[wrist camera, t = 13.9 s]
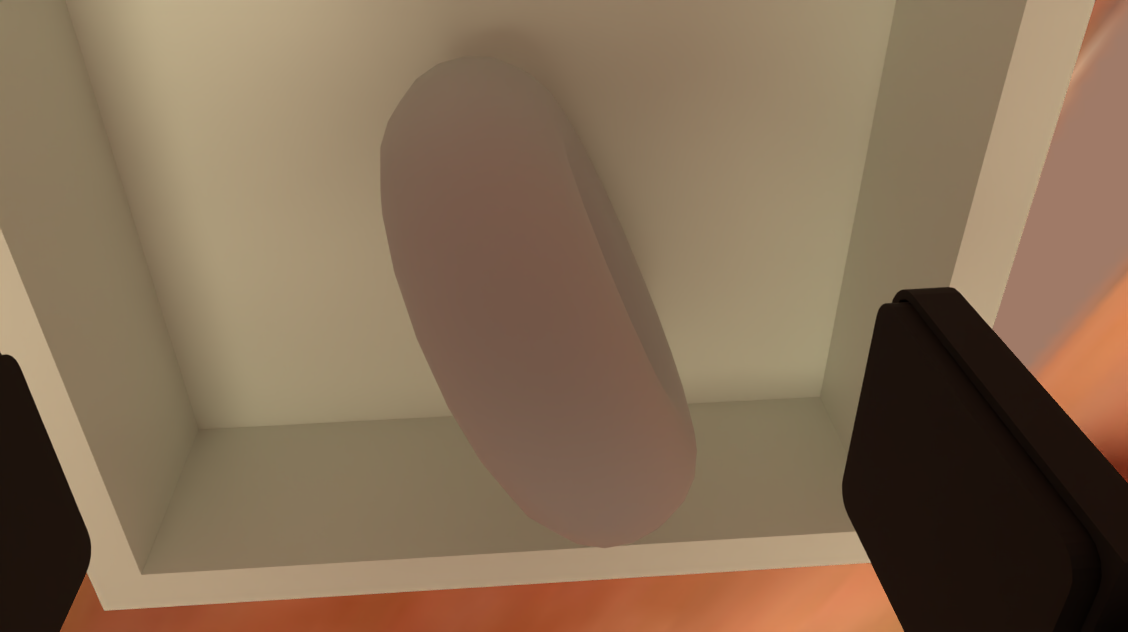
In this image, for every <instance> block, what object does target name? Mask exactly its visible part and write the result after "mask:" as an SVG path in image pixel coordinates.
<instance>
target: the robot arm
mask: <svg viewBox="0 0 1128 632" xmlns="http://www.w3.org/2000/svg"><path fill="white" fill-rule="evenodd" d="M842 496H843V502H844V506H845V509H846V512H847V515H848V517H849V519H850V521H851V523H852V525H853V527H854V529H855V531H856V533H857V535H858V537H859V539H860V541H861V543H862V545H863V547H864V550H865V552H866V554H867V556H868V558H869V560H870V562H871V564H872V566H873V568H874V570H875V572H876V574H877V576H878V578H879V580H880V582H881V584H882V587H883V589H884V591H885V593H886V595H887V597H888V599H889V601H890V603H891V605H892V607H893V609H894V611H895V613H896V615H897V617H898V619H899V621H900V624H901V626H902V628H903V630H904V632H1128V483H1127V482H1126V481H1125V480H1124V478H1123V477H1122V476H1121V475H1120V474H1119V473H1118V472H1117V470H1116V469H1115V468H1114V467H1113V466H1112V465H1111V464H1110V463H1109V461H1108V460H1107V459H1106V458H1105V457H1104V456H1103V455H1102V453H1101V452H1100V451H1099V450H1098V449H1097V448H1096V447H1095V446H1094V444H1093V443H1092V442H1091V441H1090V440H1089V439H1088V438H1087V436H1086V435H1085V434H1084V433H1083V432H1082V431H1081V430H1080V428H1079V427H1078V426H1077V425H1076V424H1075V423H1074V422H1073V421H1072V419H1071V418H1070V417H1069V416H1068V415H1067V414H1066V413H1065V411H1064V410H1063V409H1062V408H1061V407H1060V406H1059V405H1058V403H1057V402H1056V401H1055V400H1054V399H1053V398H1052V397H1051V396H1050V394H1049V393H1048V392H1047V391H1046V390H1045V389H1044V388H1043V386H1042V385H1041V384H1040V383H1039V382H1038V381H1037V380H1036V378H1035V377H1034V376H1033V375H1032V374H1031V373H1030V372H1029V371H1028V369H1027V368H1026V367H1025V366H1024V365H1023V364H1022V363H1021V361H1020V360H1019V359H1018V358H1017V357H1016V356H1015V355H1014V354H1013V352H1012V351H1011V350H1010V349H1009V348H1008V347H1007V346H1006V344H1005V343H1004V342H1003V341H1002V340H1001V339H1000V338H999V337H998V335H997V334H996V333H995V332H994V331H993V330H992V329H991V327H990V326H989V325H988V324H987V323H986V322H985V321H984V319H983V318H982V317H981V316H980V315H979V314H978V313H977V311H976V310H975V309H974V308H973V307H972V306H971V305H970V304H969V302H968V301H967V300H966V299H965V298H964V297H963V296H962V294H961V293H960V292H959V291H957V290H956V289H955V288H952V287H938V288H920V289H903V290H900V291H899V292H897V293H896V295H895V296H894V298H893V300H892V303H885V304H883V305H881V307H880V308H879V310H878V313H877V316H876V321H875V325H874V330H873V335H872V340H871V345H870V350H869V354H868V359H867V364H866V369H865V374H864V379H863V383H862V388H861V393H860V398H859V403H858V407H857V412H856V417H855V422H854V427H853V432H852V436H851V441H850V446H849V451H848V456H847V461H846V465H845V470H844V475H843V481H842ZM90 558H91V540H90V536H89V533H88V530H87V528H86V525H85V523H84V521H83V518H82V516H81V513H80V511H79V508H78V506H77V504H76V501H75V499H74V496H73V494H72V491H71V489H70V487H69V484H68V482H67V479H66V477H65V474H64V472H63V470H62V467H61V465H60V462H59V460H58V457H57V455H56V453H55V450H54V448H53V445H52V443H51V440H50V438H49V436H48V433H47V431H46V428H45V426H44V423H43V421H42V419H41V416H40V414H39V411H38V409H37V406H36V404H35V402H34V399H33V397H32V394H31V392H30V389H29V387H28V385H27V382H26V380H25V377H24V375H23V372H22V370H21V368H20V366H19V364H18V362H17V360H16V359H15V358H14V357H13V356H10V355H7V354H4V355H2V354H1V353H0V632H60V630H61V627H62V625H63V623H64V621H65V619H66V616H67V614H68V612H69V610H70V608H71V605H72V603H73V601H74V599H75V597H76V594H77V592H78V590H79V588H80V586H81V583H82V581H83V579H84V577H85V574H86V572H87V570H88V567H89V564H90Z"/></svg>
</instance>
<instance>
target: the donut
mask: <svg viewBox="0 0 1128 632" xmlns="http://www.w3.org/2000/svg"><path fill="white" fill-rule="evenodd" d="M380 193H381V206H382V216H383V221H384V226H385V230H386V235H387V240H388V245H389V250H390V255H391V259H392V264H393V269H394V273H395V276H396V279H397V282H398V285H399V288H400V291H401V294H402V297H403V300H404V303H405V306H406V308H407V311H408V314H409V317H410V320H411V323H412V326H413V329H414V332H415V335H416V338H417V341H418V343H419V345H420V347H421V349H422V352H423V354H424V356H425V358H426V360H427V362H428V365H429V367H430V369H431V371H432V373H433V376H434V378H435V380H436V382H437V384H438V386H439V389H440V391H441V393H442V395H443V397H444V400H445V402H446V404H447V406H448V408H449V410H450V411H451V413H452V415H453V416H454V418H455V420H456V421H457V423H458V425H459V426H460V428H461V430H462V431H463V433H464V435H465V436H466V438H467V440H468V441H469V443H470V445H471V446H472V448H473V450H474V451H475V453H476V455H477V456H478V458H479V460H480V461H481V463H482V464H483V465H484V466H485V467H486V469H487V470H488V471H489V472H490V473H491V475H492V476H493V477H494V478H495V479H496V480H497V482H498V483H499V484H500V485H501V486H502V488H503V489H504V490H505V491H506V492H507V494H508V495H509V496H510V497H511V498H512V499H513V501H514V502H515V503H516V504H517V505H518V506H519V507H520V508H521V510H522V511H523V512H524V513H525V514H526V515H527V516H528V517H529V518H531V519H533V520H534V521H536V522H538V523H540V524H541V525H543V526H545V527H546V528H548V529H550V530H552V531H553V532H555V533H557V534H559V535H561V536H563V537H565V538H567V539H569V540H571V541H572V542H574V543H576V544H580V545H586V546H593V547H600V548H609V547H614V546H620V545H625V544H631V543H634V542H635V541H637V540H639V539H641V538H642V537H644V536H646V535H648V534H650V533H651V532H653V531H655V530H657V529H658V528H659V527H660V526H661V525H662V524H664V523H665V522H666V521H667V520H668V519H669V518H670V516H671V515H672V514H673V513H674V512H675V511H676V510H677V509H678V508H679V507H680V505H681V504H682V503H683V502H684V501H685V498H686V496H687V494H688V491H689V489H690V487H691V484H692V482H693V480H694V477H695V466H696V455H697V448H696V440H695V432H694V428H693V424H692V420H691V416H690V412H689V408H688V404H687V401H686V397H685V393H684V390H683V386H682V383H681V380H680V377H679V374H678V371H677V367H676V364H675V361H674V358H673V355H672V352H671V349H670V347H669V344H668V341H667V339H666V336H665V333H664V330H663V328H662V325H661V322H660V320H659V317H658V314H657V311H656V309H655V306H654V304H653V301H652V299H651V296H650V294H649V291H648V289H647V286H646V284H645V281H644V279H643V276H642V274H641V271H640V269H639V266H638V264H637V262H636V259H635V257H634V254H633V252H632V250H631V247H630V245H629V243H628V240H627V238H626V235H625V233H624V231H623V228H622V226H621V224H620V222H619V220H618V217H617V215H616V213H615V211H614V208H613V206H612V204H611V202H610V199H609V197H608V195H607V193H606V191H605V189H604V186H603V184H602V182H601V180H600V178H599V176H598V174H597V172H596V170H595V168H594V166H593V164H592V162H591V160H590V158H589V156H588V154H587V152H586V150H585V148H584V146H583V144H582V143H581V141H580V139H579V137H578V135H577V133H576V131H575V130H574V128H573V126H572V125H571V123H570V121H569V120H568V118H567V116H566V115H565V113H564V111H563V110H562V108H561V107H560V105H559V104H558V102H557V101H556V99H555V98H554V96H553V95H552V93H551V92H550V90H548V89H547V88H546V87H545V86H544V85H542V84H541V83H540V82H539V81H538V80H537V79H535V78H534V77H533V76H532V75H531V74H529V73H527V72H526V71H524V70H523V69H521V68H519V67H516V66H514V65H511V64H509V63H506V62H504V61H501V60H499V59H496V58H494V57H477V56H463V57H459V58H456V59H452V60H449V61H445V62H442V63H438V64H437V65H436V66H434V67H433V68H431V69H430V70H428V71H427V72H425V73H424V74H423V75H421V76H420V77H418V78H417V79H416V80H415V81H414V83H413V84H412V85H411V87H410V88H409V89H408V91H407V92H406V93H405V95H404V96H403V98H402V99H401V100H400V102H399V103H398V105H397V107H396V109H395V110H394V112H393V114H392V115H391V117H390V119H389V120H388V123H387V126H386V130H385V133H384V137H383V140H382V143H381V147H380Z"/></svg>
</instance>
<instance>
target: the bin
mask: <svg viewBox="0 0 1128 632" xmlns="http://www.w3.org/2000/svg"><path fill="white" fill-rule="evenodd" d="M1094 3H1095V0H0V353H1V354H2V355H4V354H7V355H10V356H13V357H14V358H15V359H16V360H17V362H18V364H19V366H20V368H21V370H22V372H23V375H24V377H25V380H26V382H27V385H28V387H29V389H30V392H31V394H32V397H33V399H34V402H35V404H36V406H37V409H38V411H39V414H40V416H41V419H42V421H43V423H44V426H45V428H46V431H47V433H48V436H49V438H50V440H51V443H52V445H53V448H54V450H55V453H56V455H57V457H58V460H59V462H60V465H61V467H62V470H63V472H64V474H65V477H66V479H67V482H68V484H69V487H70V489H71V491H72V494H73V496H74V499H75V501H76V504H77V506H78V508H79V511H80V513H81V516H82V518H83V521H84V523H85V525H86V528H87V530H88V533H89V536H90V540H91V558H90V564H89V567H88V570H87V574H88V576H89V578H90V581H91V583H92V585H93V587H94V589H95V592H96V594H97V596H98V598H99V600H100V603H101V605H102V607H103V609H104V611H108V610H124V609H140V608H156V607H172V606H188V605H203V604H219V603H235V602H251V601H267V600H283V599H299V598H315V597H331V596H347V595H363V594H379V593H395V592H411V591H427V590H443V589H459V588H475V587H491V586H507V585H523V584H539V583H555V582H571V581H587V580H603V579H619V578H635V577H651V576H667V575H683V574H699V573H715V572H731V571H747V570H763V569H779V568H795V567H811V566H827V565H843V564H859V563H871V562H870V560H869V558H868V556H867V554H866V552H865V550H864V547H863V545H862V543H861V541H860V539H859V537H858V535H857V533H856V531H855V529H854V527H853V525H852V523H851V521H850V519H849V517H848V515H847V512H846V509H845V506H844V502H843V496H842V481H843V475H844V470H845V465H846V461H847V456H848V451H849V446H850V441H851V436H852V432H853V427H854V422H855V417H856V412H857V407H858V403H859V398H860V393H861V388H862V383H863V379H864V374H865V369H866V364H867V359H868V354H869V350H870V345H871V340H872V335H873V330H874V325H875V321H876V316H877V313H878V310H879V308H880V307H881V305H883V304H885V303H892V300H893V298H894V296H895V295H896V293H897V292H899V291H900V290H903V289H920V288H938V287H952V288H955V289H956V290H957V291H959V292H960V293H961V294H962V296H963V297H964V298H965V299H966V300H967V301H968V302H969V304H970V305H971V306H972V307H973V308H974V309H975V310H976V311H977V313H978V314H979V315H980V316H981V317H982V318H983V319H984V321H985V322H986V323H987V324H988V325H989V326H990V327H991V329H993V326H994V323H995V320H996V317H997V313H998V310H999V307H1000V304H1001V301H1002V297H1003V294H1004V291H1005V288H1006V284H1007V281H1008V278H1009V275H1010V272H1011V268H1012V265H1013V262H1014V259H1015V256H1016V252H1017V249H1018V246H1019V243H1020V240H1021V237H1022V233H1023V230H1024V227H1025V224H1026V221H1027V217H1028V214H1029V211H1030V207H1031V204H1032V201H1033V198H1034V195H1035V192H1036V189H1037V185H1038V182H1039V179H1040V176H1041V173H1042V169H1043V166H1044V163H1045V160H1046V157H1047V153H1048V150H1049V147H1050V144H1051V141H1052V137H1053V134H1054V131H1055V128H1056V125H1057V121H1058V118H1059V115H1060V112H1061V109H1062V105H1063V102H1064V99H1065V96H1066V93H1067V89H1068V86H1069V83H1070V80H1071V77H1072V73H1073V70H1074V67H1075V64H1076V61H1077V57H1078V54H1079V51H1080V48H1081V45H1082V41H1083V38H1084V35H1085V32H1086V29H1087V25H1088V22H1089V19H1090V16H1091V13H1092V9H1093V6H1094ZM463 56H477V57H494V58H496V59H499V60H501V61H504V62H506V63H509V64H511V65H514V66H516V67H519V68H521V69H523V70H524V71H526V72H527V73H529V74H531V75H532V76H533V77H534V78H535V79H537V80H538V81H539V82H540V83H541V84H542V85H544V86H545V87H546V88H547V89H548V90H550V92H551V93H552V95H553V96H554V98H555V99H556V101H557V102H558V104H559V105H560V107H561V108H562V110H563V111H564V113H565V115H566V116H567V118H568V120H569V121H570V123H571V125H572V126H573V128H574V130H575V131H576V133H577V135H578V137H579V139H580V141H581V143H582V144H583V146H584V148H585V150H586V152H587V154H588V156H589V158H590V160H591V162H592V164H593V166H594V168H595V170H596V172H597V174H598V176H599V178H600V180H601V182H602V184H603V186H604V189H605V191H606V193H607V195H608V197H609V199H610V202H611V204H612V206H613V208H614V211H615V213H616V215H617V217H618V220H619V222H620V224H621V226H622V228H623V231H624V233H625V235H626V238H627V240H628V243H629V245H630V247H631V250H632V252H633V254H634V257H635V259H636V262H637V264H638V266H639V269H640V271H641V274H642V276H643V279H644V281H645V284H646V286H647V289H648V291H649V294H650V296H651V299H652V301H653V304H654V306H655V309H656V311H657V314H658V317H659V320H660V322H661V325H662V328H663V330H664V333H665V336H666V339H667V341H668V344H669V347H670V349H671V352H672V355H673V358H674V361H675V364H676V367H677V371H678V374H679V377H680V380H681V383H682V386H683V390H684V393H685V397H686V401H687V404H688V408H689V412H690V416H691V420H692V424H693V428H694V432H695V440H696V448H697V455H696V466H695V477H694V480H693V482H692V484H691V487H690V489H689V491H688V494H687V496H686V498H685V501H684V502H683V503H682V504H681V505H680V507H679V508H678V509H677V510H676V511H675V512H674V513H673V514H672V515H671V516H670V518H669V519H668V520H667V521H666V522H665V523H664V524H662V525H661V526H660V527H659V528H658V529H657V530H655V531H653V532H651V533H650V534H648V535H646V536H644V537H642V538H641V539H639V540H637V541H635V542H634V543H631V544H625V545H620V546H614V547H609V548H600V547H593V546H586V545H580V544H576V543H574V542H572V541H571V540H569V539H567V538H565V537H563V536H561V535H559V534H557V533H555V532H553V531H552V530H550V529H548V528H546V527H545V526H543V525H541V524H540V523H538V522H536V521H534V520H533V519H531V518H529V517H528V516H527V515H526V514H525V513H524V512H523V511H522V510H521V508H520V507H519V506H518V505H517V504H516V503H515V502H514V501H513V499H512V498H511V497H510V496H509V495H508V494H507V492H506V491H505V490H504V489H503V488H502V486H501V485H500V484H499V483H498V482H497V480H496V479H495V478H494V477H493V476H492V475H491V473H490V472H489V471H488V470H487V469H486V467H485V466H484V465H483V464H482V463H481V461H480V460H479V458H478V456H477V455H476V453H475V451H474V450H473V448H472V446H471V445H470V443H469V441H468V440H467V438H466V436H465V435H464V433H463V431H462V430H461V428H460V426H459V425H458V423H457V421H456V420H455V418H454V416H453V415H452V413H451V411H450V410H449V408H448V406H447V404H446V402H445V400H444V397H443V395H442V393H441V391H440V389H439V386H438V384H437V382H436V380H435V378H434V376H433V373H432V371H431V369H430V367H429V365H428V362H427V360H426V358H425V356H424V354H423V352H422V349H421V347H420V345H419V343H418V341H417V338H416V335H415V332H414V329H413V326H412V323H411V320H410V317H409V314H408V311H407V308H406V306H405V303H404V300H403V297H402V294H401V291H400V288H399V285H398V282H397V279H396V276H395V273H394V269H393V264H392V259H391V255H390V250H389V245H388V240H387V235H386V230H385V226H384V221H383V216H382V206H381V193H380V147H381V143H382V140H383V137H384V133H385V130H386V126H387V123H388V120H389V119H390V117H391V115H392V114H393V112H394V110H395V109H396V107H397V105H398V103H399V102H400V100H401V99H402V98H403V96H404V95H405V93H406V92H407V91H408V89H409V88H410V87H411V85H412V84H413V83H414V81H415V80H416V79H417V78H418V77H420V76H421V75H423V74H424V73H425V72H427V71H428V70H430V69H431V68H433V67H434V66H436V65H437V64H438V63H442V62H445V61H449V60H452V59H456V58H459V57H463Z"/></svg>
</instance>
